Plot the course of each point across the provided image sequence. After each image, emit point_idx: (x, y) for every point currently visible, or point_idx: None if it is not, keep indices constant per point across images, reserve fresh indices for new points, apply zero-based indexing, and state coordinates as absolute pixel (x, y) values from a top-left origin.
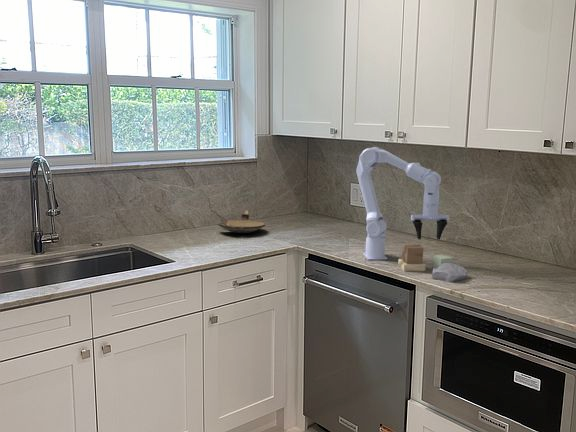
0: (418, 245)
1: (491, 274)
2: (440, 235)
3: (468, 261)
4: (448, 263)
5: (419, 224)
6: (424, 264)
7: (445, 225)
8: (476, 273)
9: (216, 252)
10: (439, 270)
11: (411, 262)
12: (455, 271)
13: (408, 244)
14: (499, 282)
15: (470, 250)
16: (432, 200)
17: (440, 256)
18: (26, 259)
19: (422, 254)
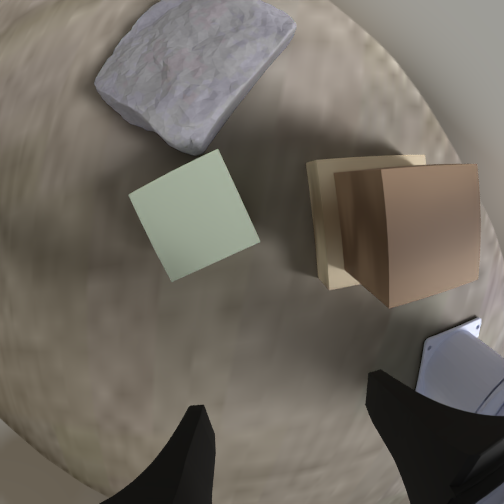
0: (399, 263)
1: (9, 165)
2: (183, 426)
3: (72, 365)
4: (179, 100)
5: (486, 431)
6: (322, 159)
7: (113, 500)
8: (52, 164)
9: None
10: (262, 11)
11: (397, 166)
12: (169, 22)
13: (453, 280)
14: (23, 60)
15: (88, 469)
16: None
17: (209, 221)
18: None
19: (361, 170)
